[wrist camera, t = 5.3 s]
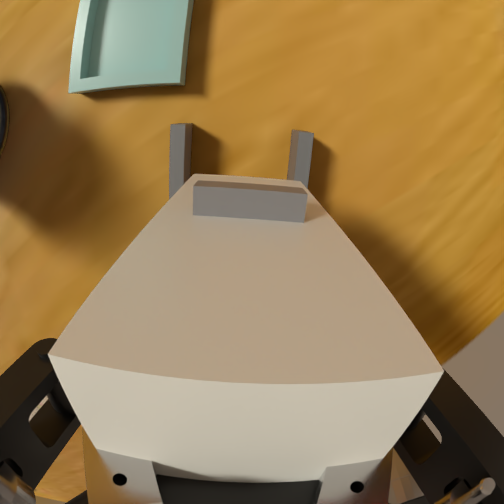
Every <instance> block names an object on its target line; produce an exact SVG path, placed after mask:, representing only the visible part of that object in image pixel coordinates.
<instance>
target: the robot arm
mask: <svg viewBox="0 0 504 504" xmlns="http://www.w3.org/2000/svg"><path fill="white" fill-rule="evenodd" d="M56 341H57V339H55V338H47V339H43V340H40V341H38V342H36V343H35V344H34V345H32V346H31V347H30V348H29V349H28V350H27V351H26V352H25V353H24V354H23V355H22V356H21V357H20V358H19V359H17V360H16V361H15V362H14V363H13V364H12V365H11V366H10V367H9V368H8V369H7V370H6V371H5V372H4V373H3V374H2V375H1V376H0V504H36V499H35V494H34V489H35V488H36V486H37V485H38V483H39V482H40V480H41V479H42V478H43V476H44V475H45V473H46V472H47V470H48V469H49V468H50V466H51V465H52V463H53V462H54V460H55V459H56V458H57V456H58V455H59V453H60V452H61V451H62V449H63V448H64V447H65V445H66V444H67V442H68V441H69V440H70V438H71V437H72V435H73V434H74V433H75V431H76V430H77V429H78V427H79V426H80V425H81V423H80V421H79V419H78V417H77V415H76V413H75V412H74V410H73V408H72V406H71V404H70V402H69V400H68V398H67V396H66V394H65V392H64V390H63V388H62V386H61V383H60V381H59V379H58V377H57V375H56V372H55V370H54V368H53V366H52V363H51V361H50V358H49V356H48V353H49V351H50V350H51V348H52V347H53V345H54V344H55V342H56ZM442 369H443V368H442ZM443 370H444V369H443ZM46 396H47V398H48V400H47V401H46V402H45V403H44V404H43V406H42V407H41V408H40V409H39V410H38V411H37V413H36V414H35V415H34V416H33V417H32V419H31V420H30V421H29V417H30V415H31V413H32V412H33V410H34V409H35V408H36V407H37V406H38V405H39V403H40V402H41V401H42V400H43V399H44V398H45V397H46ZM425 414H426V415H427V416H428V417H429V418H430V420H431V421H432V422H433V424H434V425H435V426H436V428H437V429H438V430H439V432H440V433H441V436H442V442H441V444H440V442H439V441H438V439H437V438H436V437H435V436H434V434H433V433H432V431H431V430H430V429H429V427H428V426H427V425H426V423H425V422H424V421H423V420H422V418H423V417H424V415H425ZM82 433H83V454H84V467H85V478H86V487H87V490H86V491H84V492H83V493H81V494H79V495H78V496H76V497H75V498H73V499H72V500H70V501H68V502H67V503H65V504H504V437H503V436H502V435H501V433H500V432H499V431H498V430H497V429H496V427H495V426H494V425H493V424H492V423H491V422H490V420H489V419H488V418H487V417H486V416H485V415H484V413H483V412H482V411H481V410H480V409H479V408H478V406H477V405H476V404H475V403H474V402H473V401H472V400H471V399H470V397H469V396H468V395H467V394H466V393H465V392H464V391H463V390H462V388H460V386H459V385H458V384H457V383H456V382H455V381H454V380H453V379H452V377H450V375H449V374H448V373H447V372H446V371H445V370H444V372H443V374H442V376H441V378H440V379H439V381H438V383H437V384H436V386H435V387H434V389H433V391H432V392H431V394H430V395H429V397H428V398H427V400H426V401H425V403H424V404H423V406H422V407H421V409H420V410H419V412H418V413H417V415H416V416H415V418H414V419H413V420H412V422H411V423H410V425H409V426H408V427H407V429H406V430H405V431H404V433H403V434H402V435H401V437H400V438H399V439H398V441H397V442H396V443H395V444H394V446H393V447H392V448H391V449H390V451H389V452H388V453H387V454H386V455H385V457H384V458H382V459H377V460H371V461H366V462H359V463H353V464H346V465H338V466H330V467H326V469H325V470H324V472H323V473H322V475H321V476H320V478H319V480H309V481H295V482H270V483H247V482H222V481H208V480H197V479H188V478H180V477H172V476H165V475H159V474H157V473H156V470H155V468H154V466H153V463H152V461H150V460H144V459H139V458H134V457H129V456H125V455H120V454H116V453H112V452H108V451H104V450H100V449H96V448H95V446H94V445H93V443H92V441H91V440H90V438H89V436H88V435H87V433H86V431H85V430H84V428H83V426H82Z"/></svg>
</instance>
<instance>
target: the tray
mask: <svg viewBox="0 0 504 504" xmlns="http://www.w3.org/2000/svg"><path fill="white" fill-rule="evenodd" d="M193 3H194V0H80V5H79V10H78V15H77V21H76V27H75V33H74V40H73V48H72V57H71V66H70V78H69V93H76V94H82V93H89V92H96V91H105V90H114V89H124V88H136V87H152V86H182V85H185V79H186V67H187V55H188V45H189V36H190V27H191V18H192V10H193Z"/></svg>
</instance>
